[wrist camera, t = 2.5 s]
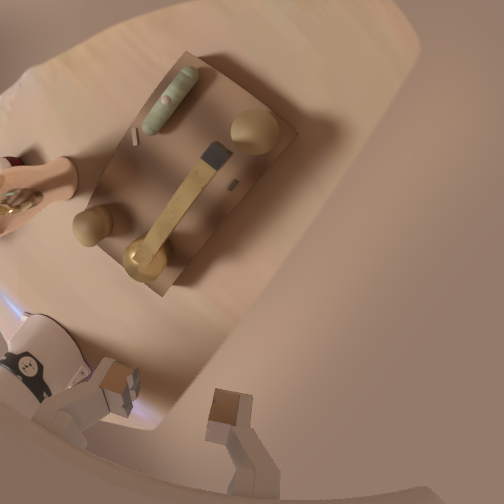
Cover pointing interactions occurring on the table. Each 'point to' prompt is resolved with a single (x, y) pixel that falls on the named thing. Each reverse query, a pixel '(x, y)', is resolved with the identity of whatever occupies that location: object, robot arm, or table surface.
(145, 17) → the table surface
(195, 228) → the levelling base
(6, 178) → the beer glass
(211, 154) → the lever handle
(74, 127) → the table surface
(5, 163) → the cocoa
